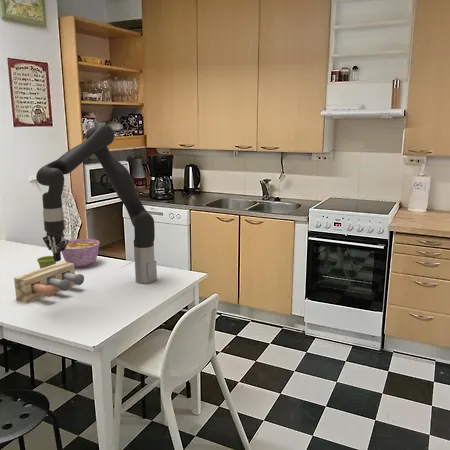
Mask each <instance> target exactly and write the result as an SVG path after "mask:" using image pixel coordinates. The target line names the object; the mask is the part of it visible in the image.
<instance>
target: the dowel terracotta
mask: <svg viewBox="0 0 450 450" xmlns="http://www.w3.org/2000/svg"><path fill="white" fill-rule="evenodd" d="M31 289H32V291H34V292H38V293H42V294H44V295H45V296H44V297H48V298H52V297H54V294H55V293H56V292H55V287H54V286H52V285H47V286H46V285H42V284H38V283H32V284H31Z"/></svg>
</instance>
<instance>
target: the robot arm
mask: <svg viewBox="0 0 450 450" xmlns="http://www.w3.org/2000/svg"><path fill="white" fill-rule="evenodd" d="M85 139H86V140H84V141H83V142H81V143H79V144H77V145H76V146H74V147H72V148H70V149H69V150H68V151H66V152H65V153H63V154H62V155H61V156H59V157H58V158H57V159H56V160H53V161H50V162H49V163H47V164H45V165H43V166H41V168H39V169H38V171H37V172H36V176H35V177H36V179H35V180H36V181H37V183H38V184H39V185H41V186H46V187H47V186H48V191H47V192H44V193H43V194H42V195H41V196H42V208H43V209H42V216H43V217H42V218H43V227H44V228H43V229H44V231H45V232H46V235H45V236H43V237H42V240H43V242H44V243H45V246H46V247H47V249H48V250H49V251H51V252H52V256H53V258H54V261H56V263H59V262H61V261H62V256H61V255H62V252H61V251H64V250H65V248H66V246H67V244H68V242H69V240H70V239H66V238H65V234H64V230H65V228H66V227H65V215H64V209H63V200H62V195H63V191H64V186H65V184H64V183H65V176H64V175H69V174H70V173H72V172H73V171H74V170H76V169H77V168H78V167H79V166H80V165H81V164H82V163H84V162H85V161H86V160H88V158H90V157H91V156H92V155H94V156H95V157H96V159H97V160H98V162H99V163H100V165H101V167H102V168H103V170H104V173H105V174H106V176H107V178H108V180H109V183H110V184H111V186H112V188H113V189H114V192H115V193H116V194H117V197H118V198H119V200H120V201H121V202H122V204H123V206H125V209H126V211H127V214H128V216H129V219H130V222H131V224H132V226H133V227H134V228H133V230H134V233H133V234H134V239H133V254H134V255H133V257H134V259H133V260H134V276H135V283H138V284H151V283H154V282H156V281H157V280H158V273H157V270H158V269H157V260H155V243H154V242H155V237H156V236H155V231H156V230H155V220H154V218H153V216H152V215H151V214H150V213H149V212H148V211H147V210H146V208H145V206H144V205H143V203H142V201H141V199H140V197H139V195H138V192H137V191H138V189H137V188H136V184H135V182H134V180H133V177H132V176H131V174H130V172H129V170H128V169H127V168H126V166H124V164H122V163H121V162H120V161H119V160H118V159H116V158H115V157H114V156H113V154H112V153H111V151H110V150H109V146H110V145H111V144H112V143H113V142H114V140H115V132H114V130H113V128H112V127H111V126H110V125H108V124H99V125H98V124H97V125H96V126H93V127H90V128H88V130H86V132H85Z"/></svg>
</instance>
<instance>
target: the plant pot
mask: <svg viewBox="0 0 450 450" xmlns="http://www.w3.org/2000/svg"><path fill="white" fill-rule="evenodd" d="M36 262H37V264H39V269H42V268H45V267H48V266H51V265H54V264H57V262H56V261H54V258H53V255H46V256H41V257H40V256H39V257H38V258H36Z"/></svg>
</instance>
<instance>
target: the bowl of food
mask: <svg viewBox="0 0 450 450" xmlns="http://www.w3.org/2000/svg"><path fill="white" fill-rule="evenodd" d="M68 240H69V242H68V244H67V246H66V248H65V250H64V251H61V255H62V257H63V259H64V260H63V261H64V262H69V263H74V268H83V267H88V266H89V265H91V264H92V263H94V262H95V261H96V259H97V258H98V253H99V247H100V240H98V239H94V238H76V239H71V240H70V239H68Z"/></svg>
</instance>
